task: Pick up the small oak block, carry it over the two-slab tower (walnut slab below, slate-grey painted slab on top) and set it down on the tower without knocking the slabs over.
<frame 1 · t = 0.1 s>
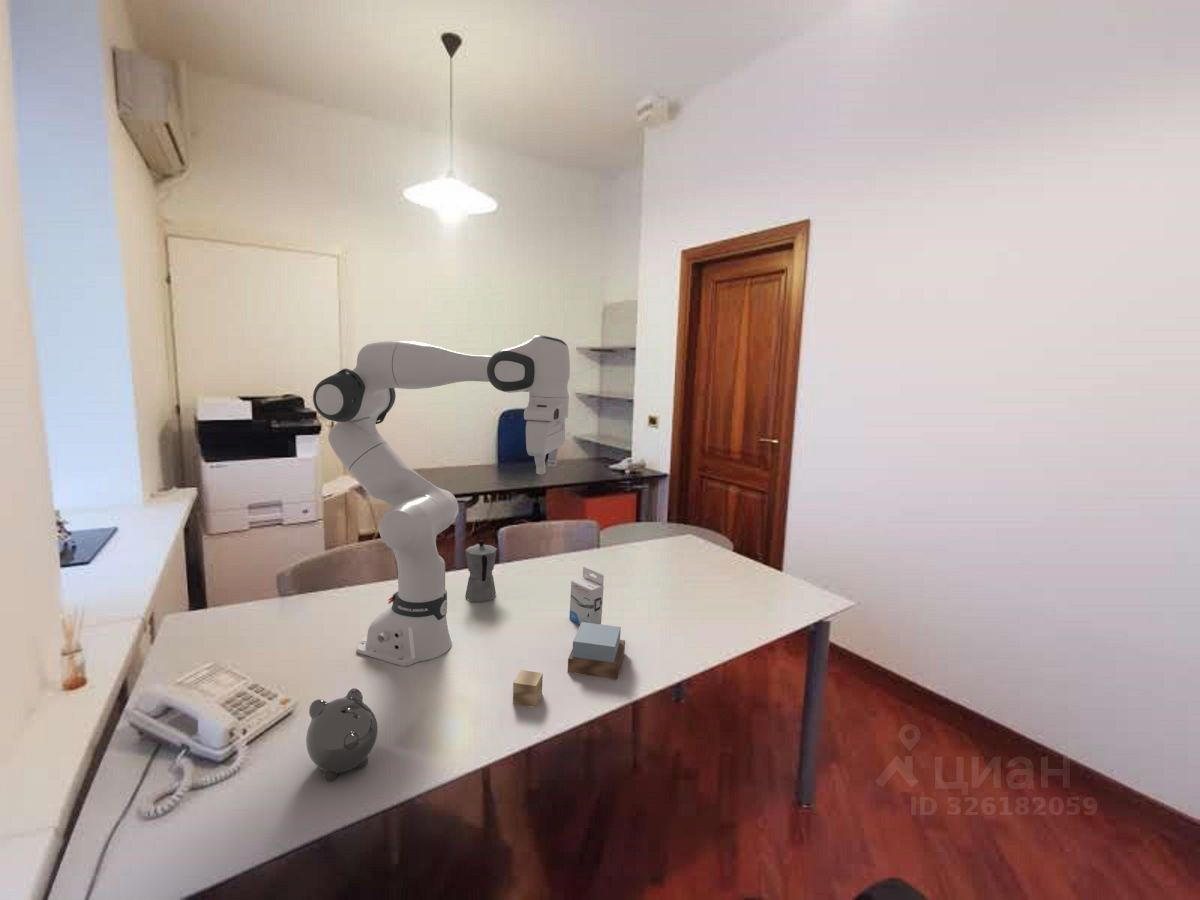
hand: (546, 469, 124), 48 cm above the table, fingers open, 8 cm apart
ink box: (585, 622, 154), on the table
oak block: (527, 699, 117), on the table
piggy bank: (342, 764, 96), on the table
coffeepot: (481, 598, 166), on the table
tower base: (596, 664, 133), on the table
tower top: (596, 649, 132), point 4 cm above the table
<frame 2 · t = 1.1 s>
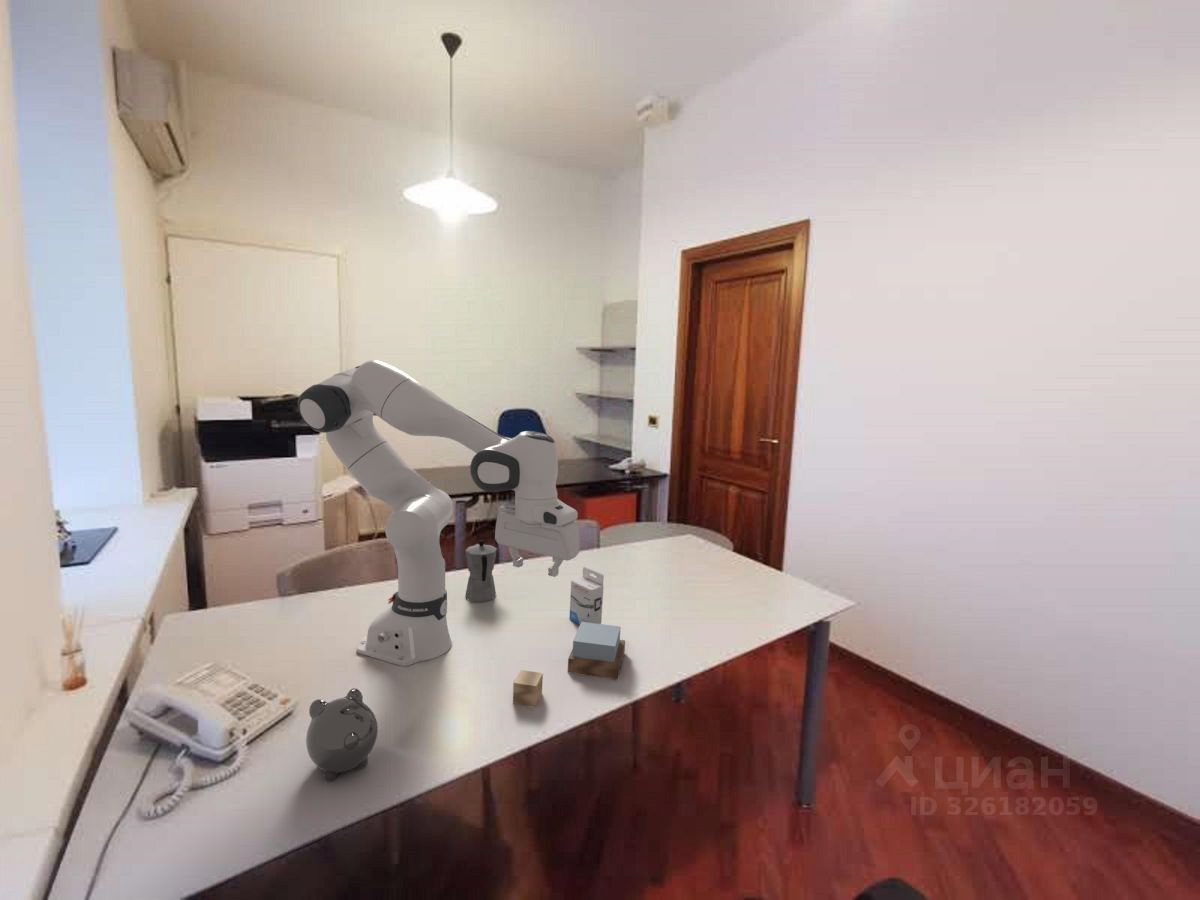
hand: (535, 570, 117), 28 cm above the table, fingers open, 8 cm apart
nothing on the table moved.
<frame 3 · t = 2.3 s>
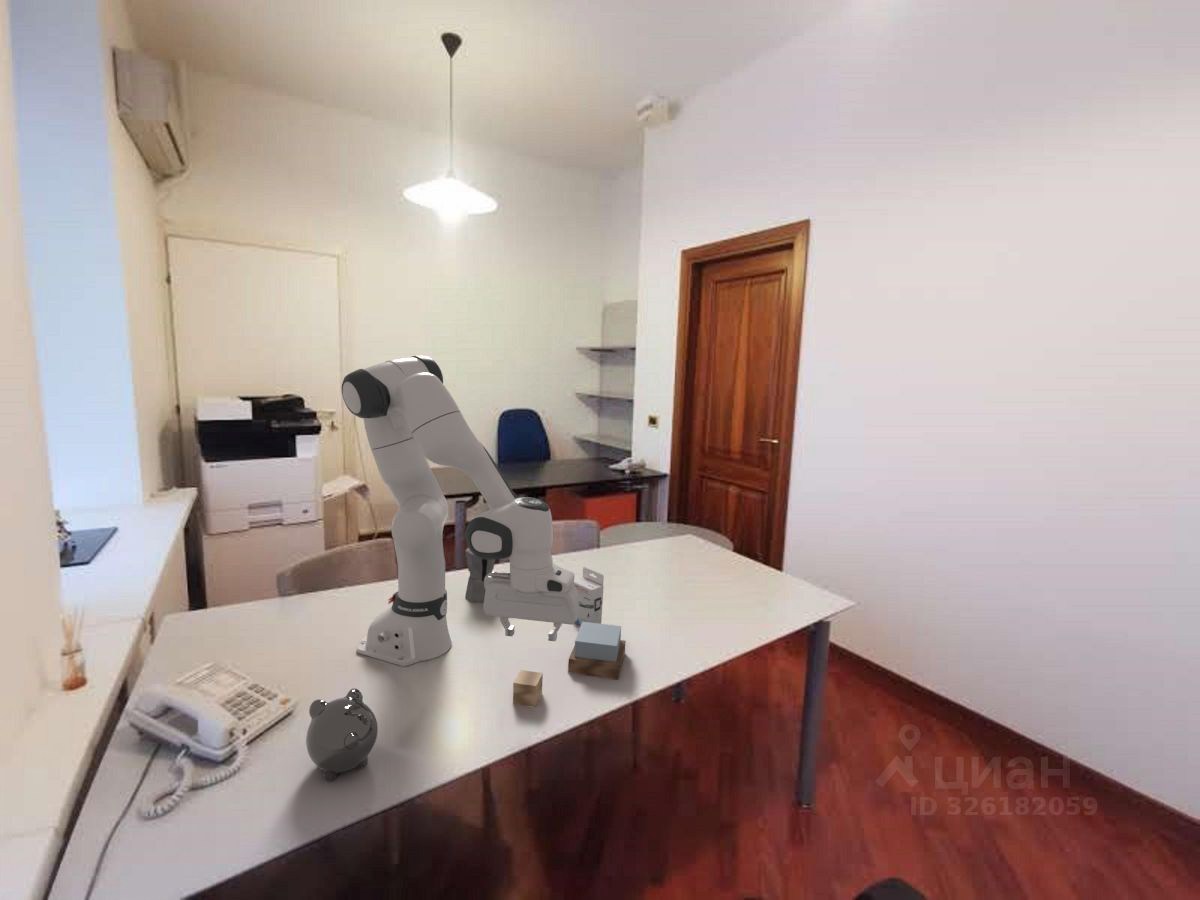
hand: (531, 637, 115), 14 cm above the table, fingers open, 8 cm apart
tower base: (597, 664, 133), on the table, touching tower top
tower top: (598, 648, 133), point 3 cm above the table, touching tower base
everything else where it was.
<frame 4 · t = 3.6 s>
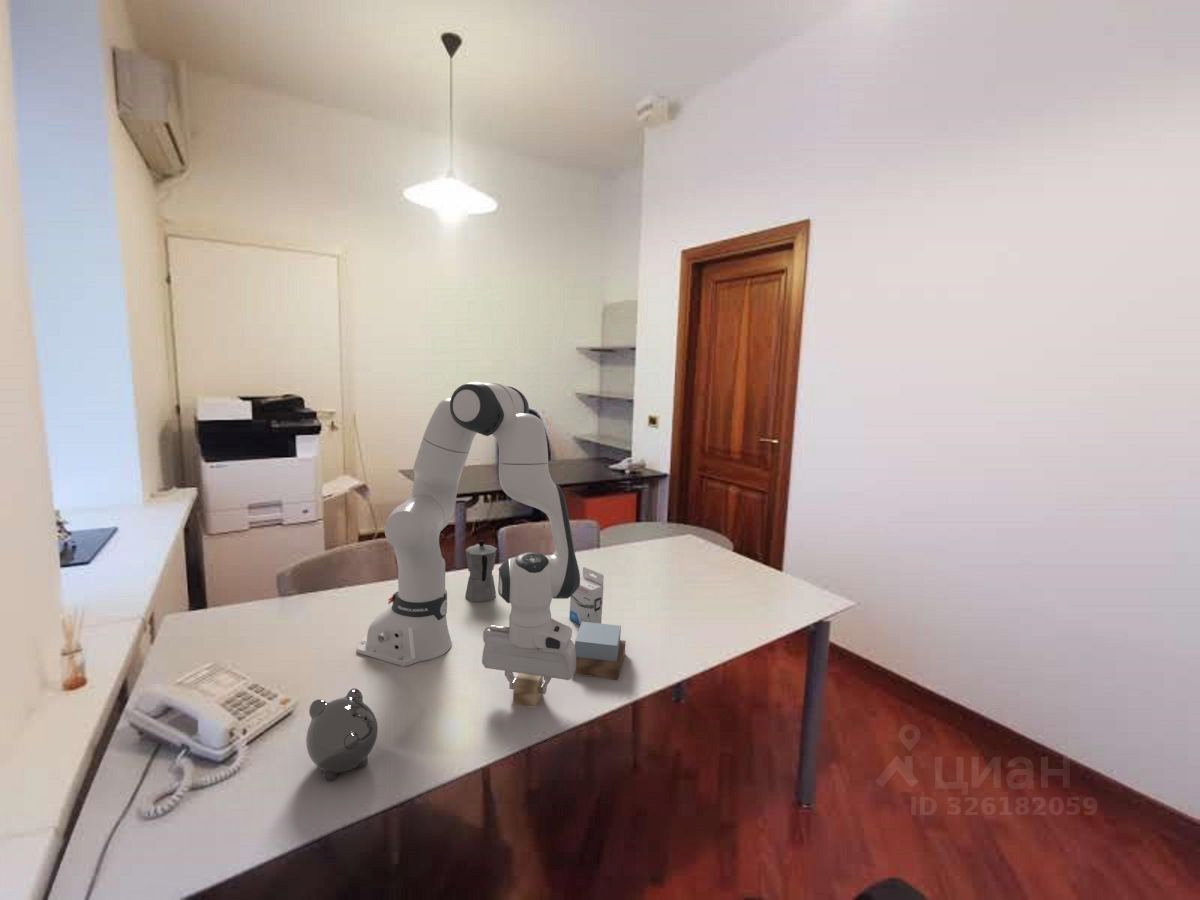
hand: (528, 690, 117), 2 cm above the table, fingers closed on oak block, 5 cm apart
oak block: (527, 699, 117), on the table, touching gripper
everything else where it was.
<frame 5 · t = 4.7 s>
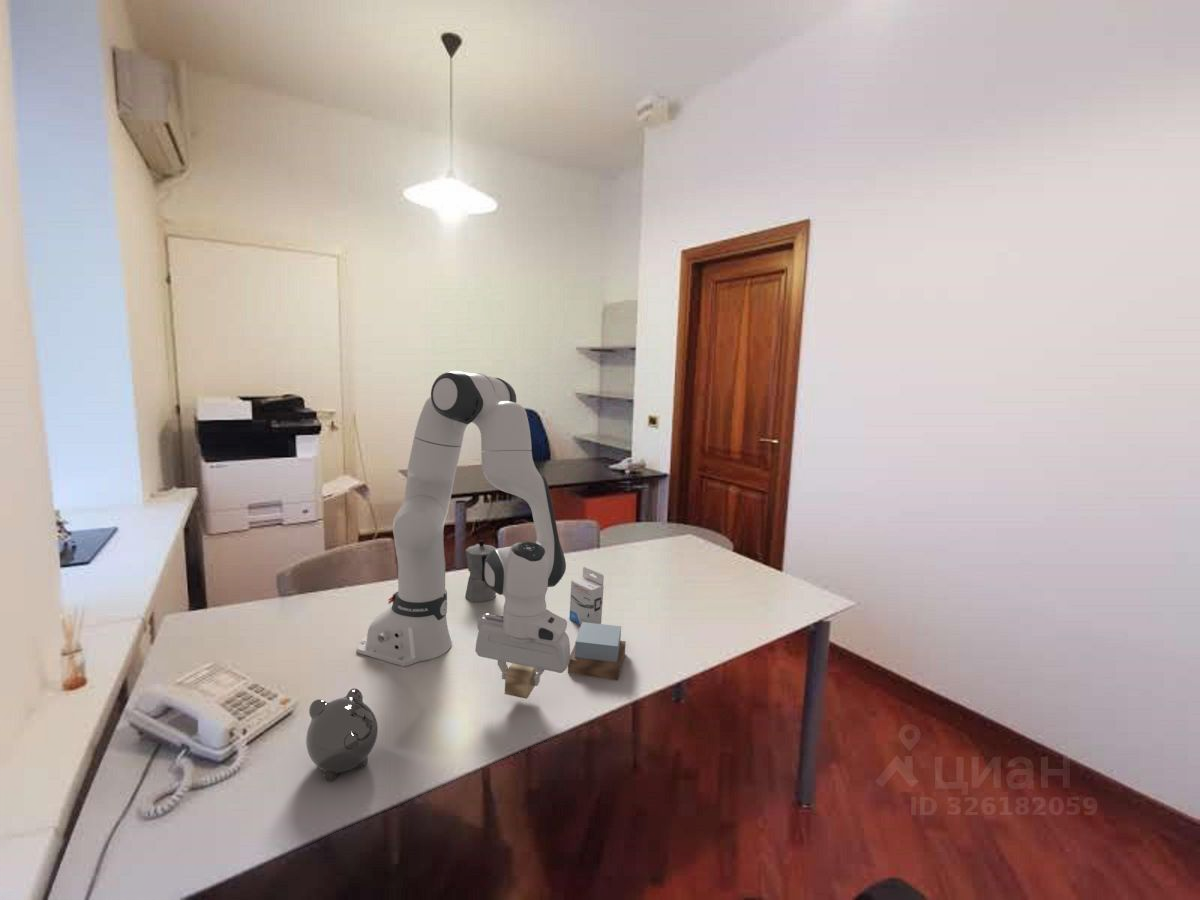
hand: (520, 681, 116), 5 cm above the table, fingers closed on oak block, 5 cm apart
oak block: (520, 689, 116), point 3 cm above the table, touching gripper
everything else where it was.
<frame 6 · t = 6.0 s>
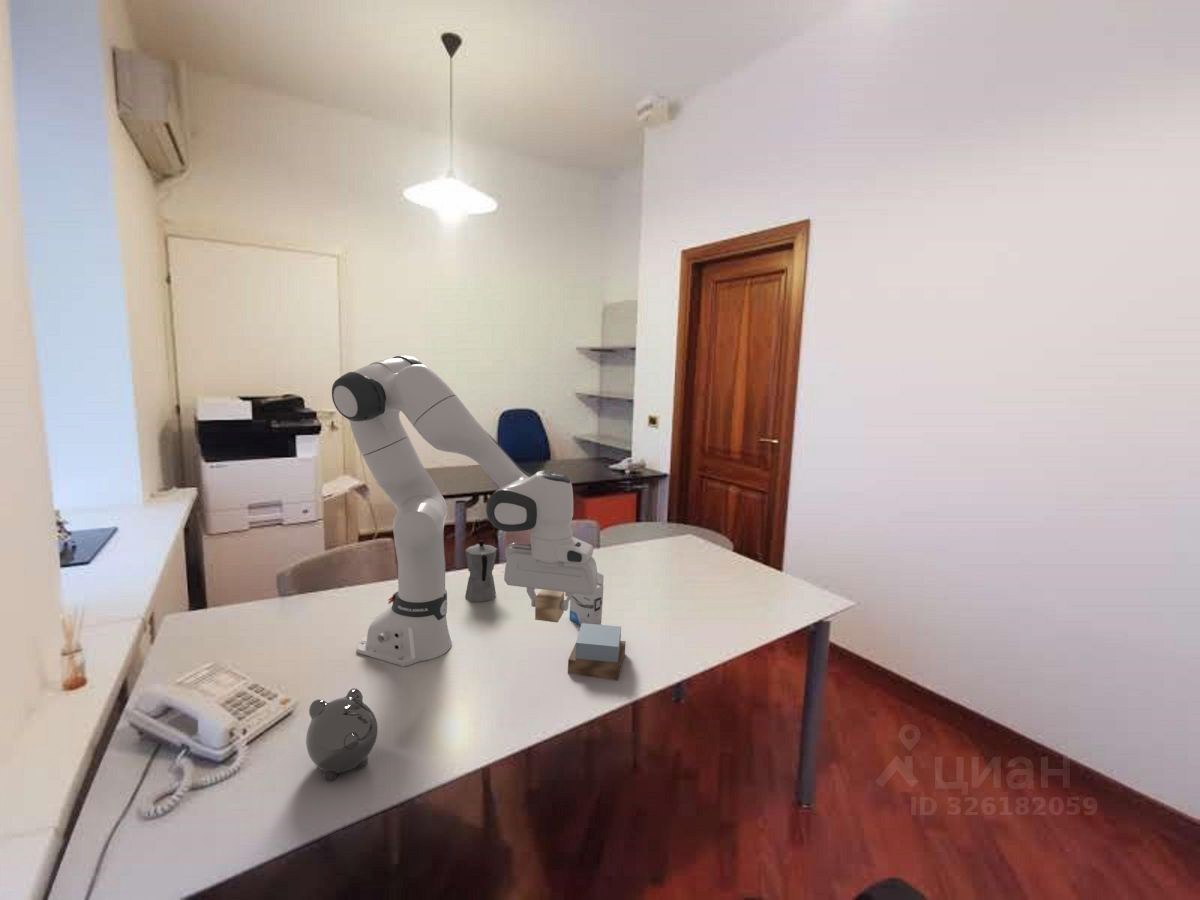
hand: (549, 607, 118), 19 cm above the table, fingers closed on oak block, 5 cm apart
oak block: (549, 615, 118), point 17 cm above the table, touching gripper
tower base: (597, 665, 133), on the table
tower top: (598, 649, 132), point 4 cm above the table
everything else where it was.
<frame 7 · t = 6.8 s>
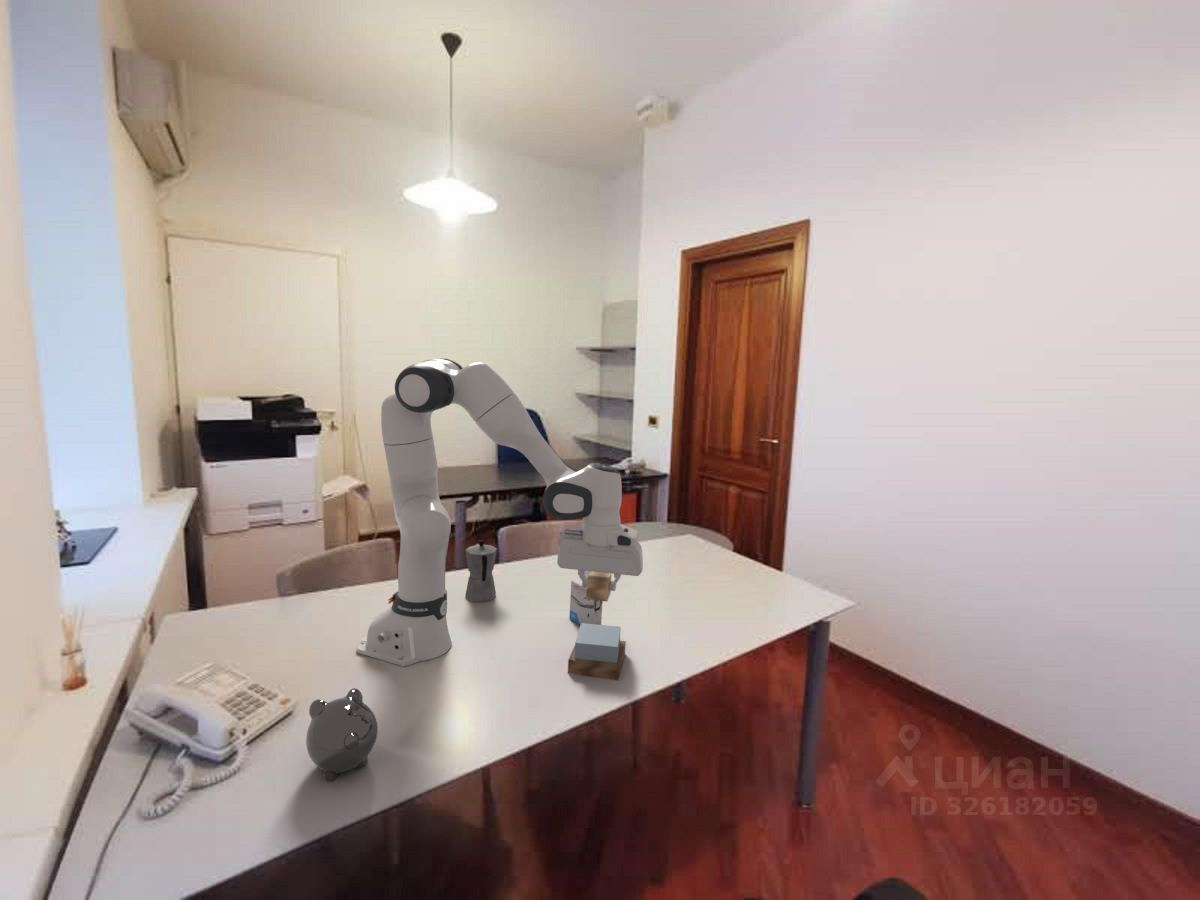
hand: (598, 588, 129), 20 cm above the table, fingers closed on oak block, 5 cm apart
oak block: (598, 595, 129), point 18 cm above the table, touching gripper
everything else where it was.
when the fingers open (10 cm above the table, at t = 9.0 s): oak block moves 1 cm, point 8 cm above the table.
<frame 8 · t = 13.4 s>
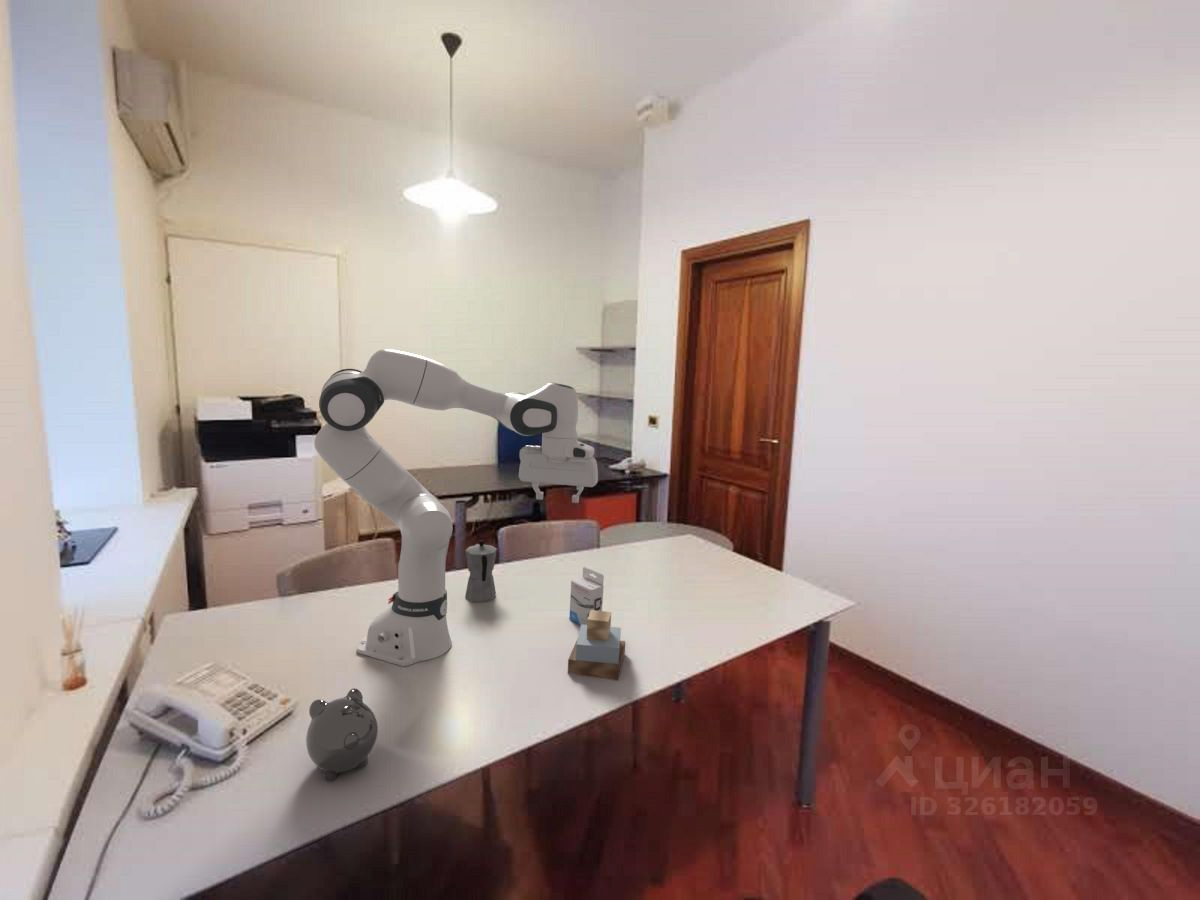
hand: (557, 500, 139), 37 cm above the table, fingers open, 8 cm apart
oak block: (598, 634, 131), point 8 cm above the table
tower base: (597, 665, 133), on the table, touching tower top
tower top: (598, 651, 132), point 3 cm above the table, touching tower base
everything else where it was.
at the end: oak block inside the target area on the tower top (0.4 cm from its centre), point 4.0 cm above the tower top's base; oak block tilted 0°; tower top tilted 0° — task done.
